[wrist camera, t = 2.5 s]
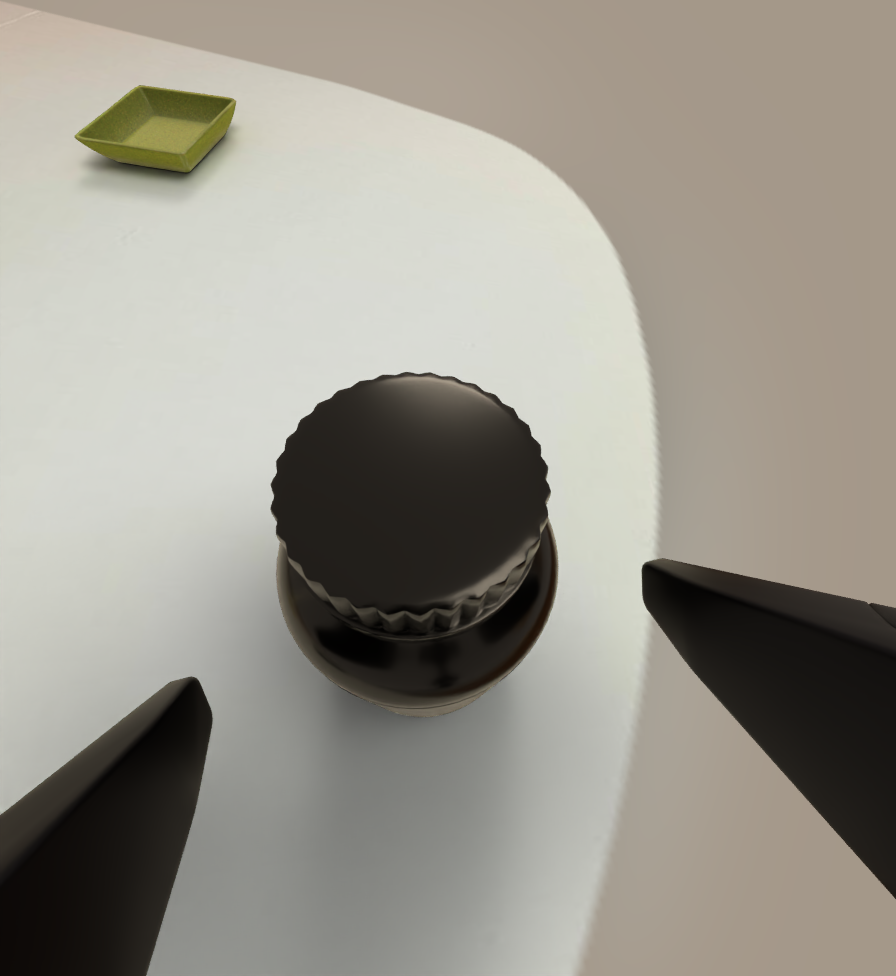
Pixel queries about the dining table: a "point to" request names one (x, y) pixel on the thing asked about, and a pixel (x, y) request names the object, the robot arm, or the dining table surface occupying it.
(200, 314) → the dining table surface
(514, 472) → the supplement bottle
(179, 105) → the olive green square dish
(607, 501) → the dining table surface
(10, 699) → the dining table surface
